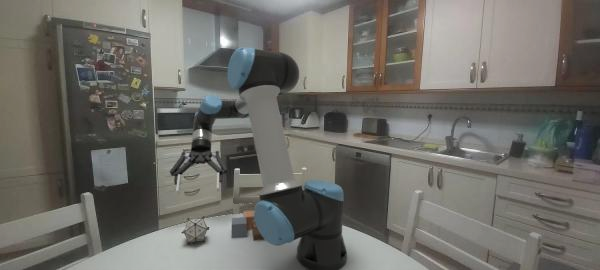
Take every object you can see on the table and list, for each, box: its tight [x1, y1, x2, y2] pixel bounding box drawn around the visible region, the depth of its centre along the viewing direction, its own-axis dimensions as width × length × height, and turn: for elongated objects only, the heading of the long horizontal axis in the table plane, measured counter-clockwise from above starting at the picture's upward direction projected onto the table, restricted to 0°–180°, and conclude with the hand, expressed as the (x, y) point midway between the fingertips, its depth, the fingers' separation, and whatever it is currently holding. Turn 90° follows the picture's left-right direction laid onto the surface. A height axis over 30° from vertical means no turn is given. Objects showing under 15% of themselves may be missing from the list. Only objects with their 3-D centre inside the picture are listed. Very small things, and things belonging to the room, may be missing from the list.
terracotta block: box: [242, 210, 255, 231], centre depth 98 cm, size 5×5×5 cm
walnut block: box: [251, 220, 265, 241], centre depth 92 cm, size 5×5×5 cm
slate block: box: [231, 216, 248, 239], centre depth 93 cm, size 5×5×5 cm
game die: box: [181, 215, 210, 246], centre depth 87 cm, size 9×8×10 cm
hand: (198, 191), depth 95 cm, fingers open, 13 cm apart
